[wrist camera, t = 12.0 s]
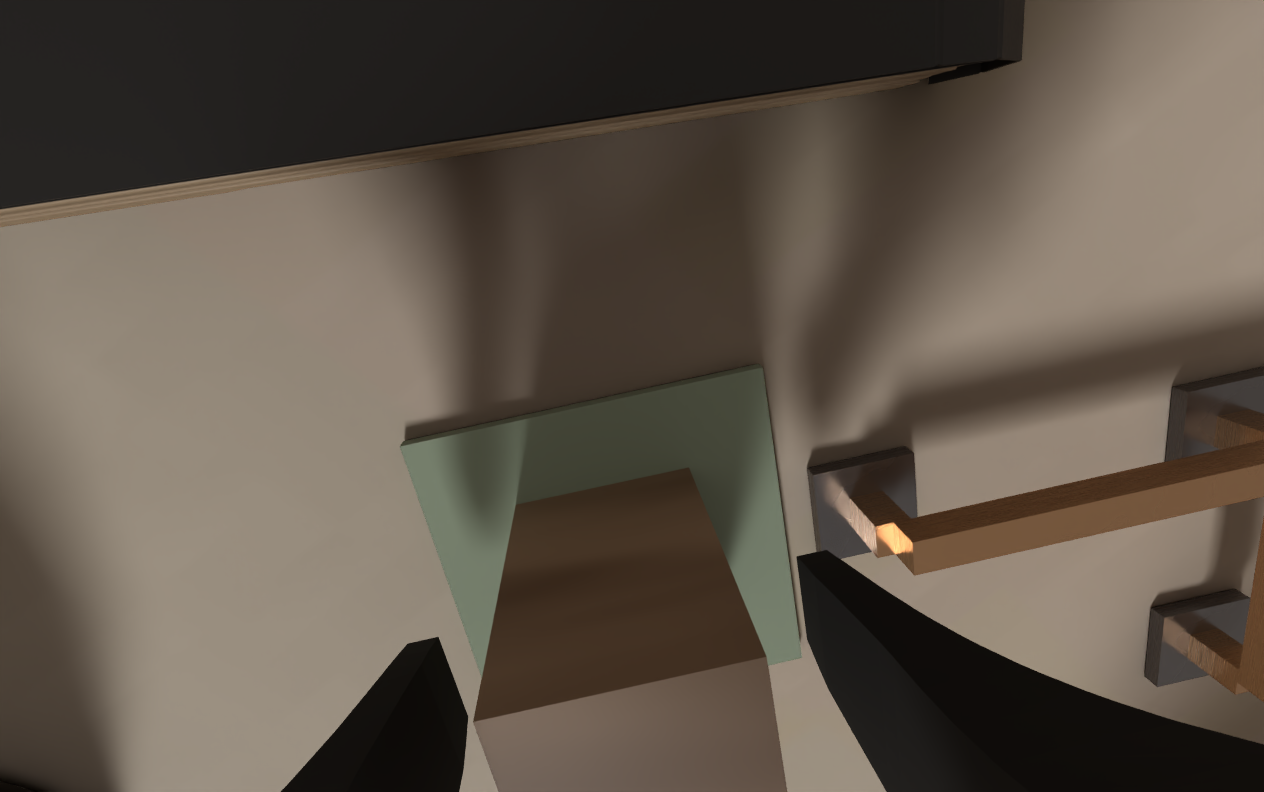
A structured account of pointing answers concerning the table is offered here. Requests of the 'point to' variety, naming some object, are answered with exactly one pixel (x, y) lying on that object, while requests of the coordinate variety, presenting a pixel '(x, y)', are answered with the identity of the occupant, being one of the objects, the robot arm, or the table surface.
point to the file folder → (419, 81)
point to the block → (625, 651)
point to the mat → (606, 454)
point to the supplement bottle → (12, 788)
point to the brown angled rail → (1086, 522)
